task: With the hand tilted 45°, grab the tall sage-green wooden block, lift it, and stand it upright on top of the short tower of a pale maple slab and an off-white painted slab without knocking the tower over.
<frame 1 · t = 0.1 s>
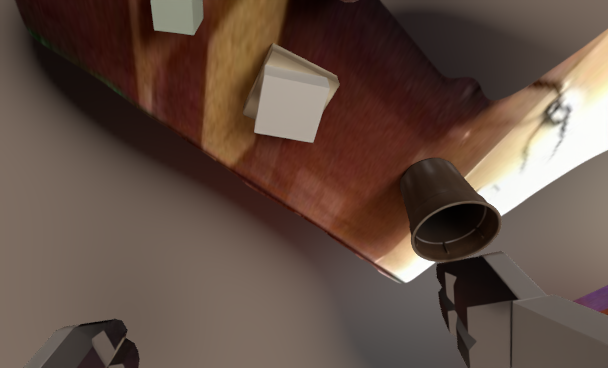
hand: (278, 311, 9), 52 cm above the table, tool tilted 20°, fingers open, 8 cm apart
white top slab: (289, 99, 58), point 3 cm above the table, touching maple base slab
maple base slab: (289, 89, 61), on the table, touching white top slab
plant pot: (426, 178, 76), on the table
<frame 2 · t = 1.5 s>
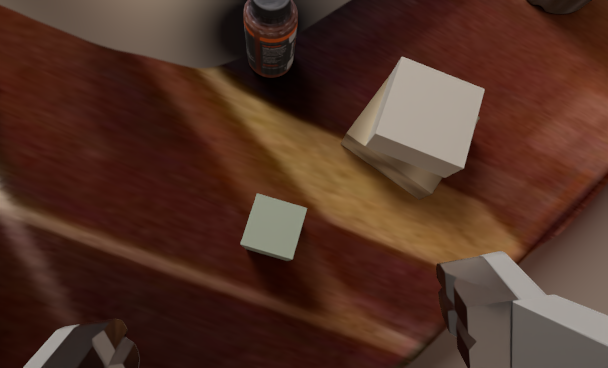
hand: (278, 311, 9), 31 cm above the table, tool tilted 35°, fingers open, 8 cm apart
supplement bottle: (270, 60, 46), on the table
white top slab: (416, 125, 42), point 3 cm above the table
sage block: (273, 234, 40), on the table
maple base slab: (402, 137, 45), on the table
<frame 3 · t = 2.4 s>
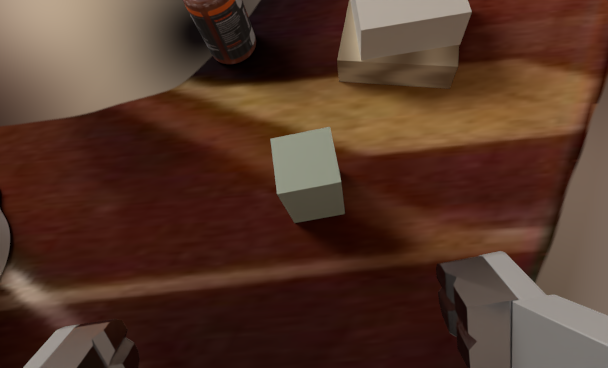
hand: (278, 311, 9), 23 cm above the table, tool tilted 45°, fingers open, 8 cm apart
supplement bottle: (235, 49, 44), on the table
white top slab: (400, 17, 38), point 3 cm above the table, touching maple base slab
sage block: (315, 195, 35), on the table
maple base slab: (397, 46, 41), on the table, touching white top slab
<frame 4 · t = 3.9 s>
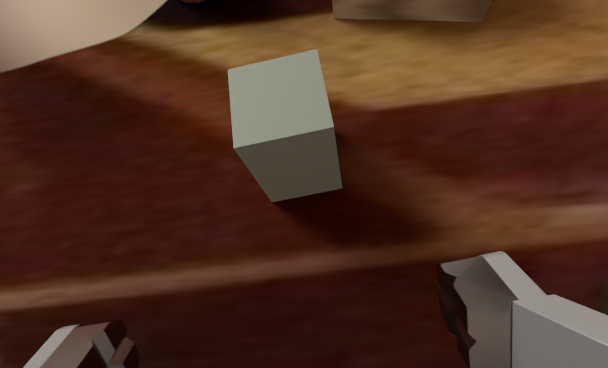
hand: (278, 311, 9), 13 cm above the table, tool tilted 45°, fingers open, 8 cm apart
sage block: (301, 163, 25), on the table
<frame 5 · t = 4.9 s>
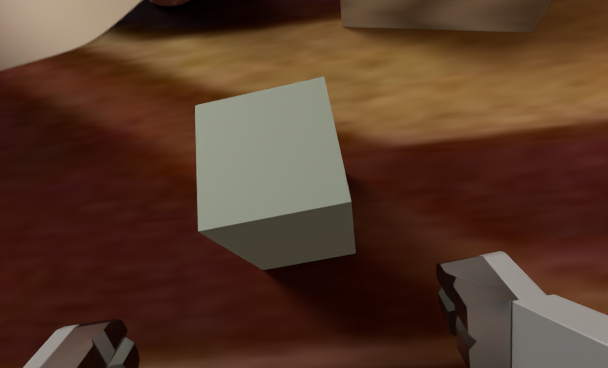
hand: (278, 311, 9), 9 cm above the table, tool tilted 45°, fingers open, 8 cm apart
sage block: (301, 217, 19), on the table
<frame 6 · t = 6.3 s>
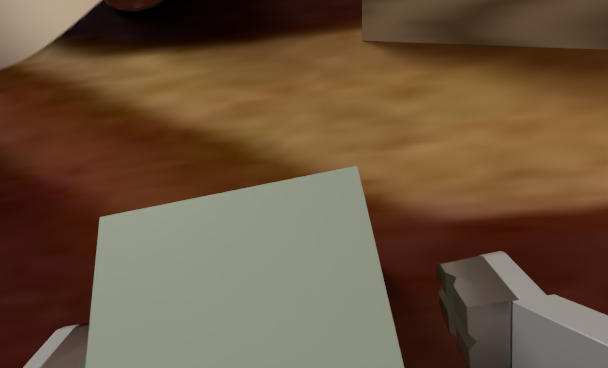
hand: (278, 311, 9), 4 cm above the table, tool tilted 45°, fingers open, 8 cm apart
sage block: (306, 332, 13), on the table
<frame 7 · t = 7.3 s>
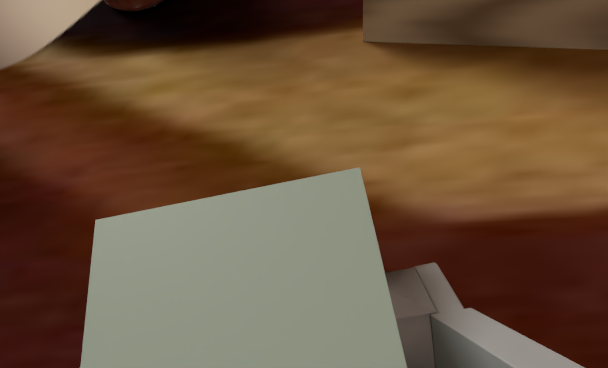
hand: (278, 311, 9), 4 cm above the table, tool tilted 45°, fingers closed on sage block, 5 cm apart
sage block: (307, 335, 13), on the table, touching gripper
when the fingers open (14 cm above the table, at t = 15.2 s): sage block drops 2 cm, resting on white top slab.
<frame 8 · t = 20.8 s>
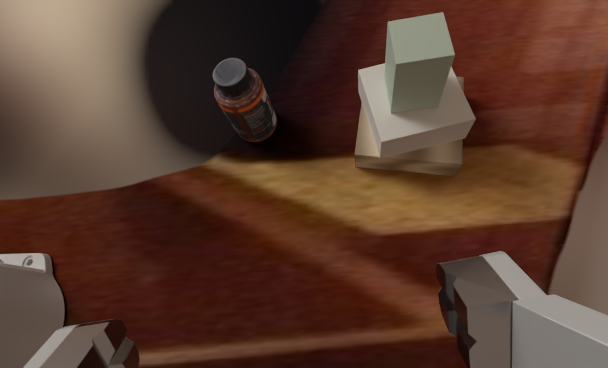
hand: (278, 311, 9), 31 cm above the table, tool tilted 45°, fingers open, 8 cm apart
supplement bottle: (257, 126, 49), on the table
white top slab: (408, 113, 42), point 3 cm above the table, touching maple base slab, sage block
sage block: (410, 91, 39), point 7 cm above the table, touching white top slab
maple base slab: (406, 132, 46), on the table, touching white top slab
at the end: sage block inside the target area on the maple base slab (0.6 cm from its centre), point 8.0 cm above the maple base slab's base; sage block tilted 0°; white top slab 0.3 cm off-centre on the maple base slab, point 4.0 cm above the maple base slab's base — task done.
